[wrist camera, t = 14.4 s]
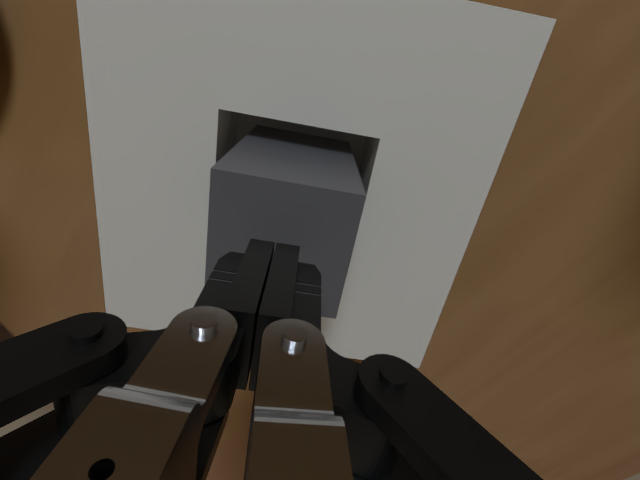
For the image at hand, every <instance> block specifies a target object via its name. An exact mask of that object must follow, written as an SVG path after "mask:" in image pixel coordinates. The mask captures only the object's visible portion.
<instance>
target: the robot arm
mask: <svg viewBox="0 0 640 480" xmlns="http://www.w3.org/2000/svg"><path fill="white" fill-rule="evenodd" d="M274 246H275V242H270V241H264V240H258V239H252V238H251V239H250V241H249V244H248V246H247V249H246V251H245V254H244V253H238V252H231V251H230V252H229V253H227V254H225V255H224V256H222V257H221V258H219V259H218V261H217V263H216V265H215V267H214V269H213V271H212V273H211V274H210V276H209V279H208V280H207V282H206V284H205V286H204V288H203V290H202V291H201V293H200V295H199V297H198V299H197V301H196V303H195V305H194V307H193V308H190V309H187V310H184V311H182V312H181V313H179V314H178V315H176V316H175V317H174V318H173V320H172V321H171V322H170V324H169V325H168V327H167V328H165V329H160V330H154V331H143V332H131V333H127V327H126V324H125V323H124V321H123V320H122V319H121V318H119V317H117V316H115V315H112V314H109V313H102V312H91V313H83V314H79V315H75V316H72V317H69V318H66V319H63V320H61V321H58V322H55V323H52V324H49V325H47V326H44V327H41V328H38V329H35V330H33V331H30V332H27V333H24V334H21V335H19V336H16V337H13V338H10V339H8V340H5V341H2V342H0V428H1V427H3V426H5V425H7V424H9V423H11V422H13V421H15V420H17V419H19V418H21V417H23V416H25V415H27V414H29V413H31V412H33V411H35V410H37V409H39V408H41V407H43V406H45V405H47V404H49V403H51V402H53V404H54V409H55V410H53V411H51V412H49V413H47V414H45V415H43V416H41V417H39V418H37V419H35V420H33V421H31V422H29V423H27V424H25V425H24V426H21V427H20V428H18V429H16V430H14V431H12V432H10V433H8V434H6V435H4V436H2V437H0V480H206V478H207V475H208V472H209V470H210V467H211V464H212V461H213V458H214V456H215V453H216V450H217V447H218V444H219V442H220V439H221V436H222V433H223V430H224V428H225V425H226V422H227V419H228V414H229V408H230V407H231V404H232V402H233V398H234V394H235V390H236V389H242V390H246V386H247V382H248V378H249V373H250V369H251V374H250V382H249V389H248V390H251V391H254V399H253V406H252V413H251V420H250V428H249V436H248V445H247V454H246V462H245V471H244V480H543V479H542V478H541V477H539V476H538V475H537V474H536V473H535V472H534V471H533V470H531V469H530V468H529V467H528V466H527V465H526V464H525V463H523V462H522V461H521V460H520V459H519V458H518V457H517V456H515V455H514V454H513V453H512V452H511V451H510V450H509V449H507V448H506V447H505V446H504V445H503V444H502V443H501V442H499V441H498V440H497V439H496V438H495V437H494V436H493V435H491V434H490V433H489V432H488V431H487V430H486V429H485V428H483V427H482V426H481V425H480V424H479V423H478V422H476V421H475V420H474V419H473V418H472V417H471V416H470V415H468V414H467V413H466V412H465V411H464V410H463V409H462V408H460V407H459V406H458V405H457V404H456V403H455V402H454V401H452V400H451V399H450V398H449V397H448V396H447V395H446V394H444V393H443V392H442V391H441V390H440V389H439V388H438V387H436V386H435V385H434V384H433V383H432V382H431V381H430V380H428V379H427V378H426V377H425V376H424V375H423V374H422V373H420V372H419V371H418V370H417V369H416V368H415V367H413V366H412V365H411V364H410V363H408V362H406V361H405V360H403V359H401V358H399V357H396V356H393V355H388V354H375V355H371V356H369V357H367V358H365V359H364V360H363V361H362V363H361V364H360V363H357V362H355V361H352V360H350V359H347V358H345V357H343V356H341V355H339V354H337V353H336V352H335V351H333V350H332V349H331V348H330V347H329V346H328V345H327V344H326V342H325V338H324V336H323V334H322V333H321V273H320V272H319V270H318V269H317V267H316V266H315V265H314V264H307V263H301V262H298V259H299V251H300V246H295V245H289V244H283V243H276V247H275V251H274ZM273 254H274V255H273ZM251 365H252V366H251Z"/></svg>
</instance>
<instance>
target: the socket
mask: <svg viewBox="0 0 640 480" xmlns="http://www.w3.org/2000/svg"><path fill="white" fill-rule="evenodd" d="M76 1H77V12H78V22H79V33H80V44H81V54H82V65H83V75H84V86H85V96H86V107H87V117H88V128H89V138H90V149H91V159H92V170H93V180H94V191H95V201H96V212H97V222H98V233H99V243H100V254H101V264H102V275H103V285H104V296H105V307H106V313H109V314H112V315H115V316H117V317H119V318H121V319H122V320H123V321H124V323H125V324H126V326H127V327H134V328H141V329H148V330H160V329H165V328H167V327H168V325H169V324H170V322H171V321H172V320H173V318H174V317H175V316H176V315H178V314H179V313H181V312H182V311H184V310H187V309H190V308H193V307H194V305H195V303H196V301H197V299H198V297H199V295H200V293H201V291H202V290H203V288H204V286H205V267H206V248H207V229H208V210H209V190H210V171H211V167H212V166H214V165H215V164H216V163H217V162H218V161H219V160H220V159H221V158H222V157H223V156H224V155H225V154H226V153H228V152H229V151H230V150H231V149H232V148H233V147H234V146H235V145H236V144H237V143H238V142H239V141H240V140H242V139H243V138H244V137H245V136H246V135H247V134H248V133H249V132H250V131H251V130H252V129H253V128H254V127H255V126H257V125H262V126H267V127H273V128H278V129H283V130H289V131H294V132H299V133H305V134H310V135H315V136H321V137H326V138H331V139H337V140H342V141H347V142H349V143H350V146H351V149H352V152H353V156H354V159H355V162H356V165H357V168H358V171H359V174H360V177H361V180H362V184H363V187H364V190H365V193H366V200H365V204H364V208H363V212H362V216H361V220H360V224H359V228H358V232H357V236H356V240H355V244H354V248H353V252H352V256H351V260H350V264H349V268H348V272H347V276H346V280H345V284H344V288H343V292H342V296H341V300H340V304H339V308H338V312H337V316H336V319H334V318H327V317H321V333H322V334H323V336H324V338H325V342H326V344H327V345H328V346H329V347H330V348H331V349H332V350H333V351H335V352H336V353H337V354H339V355H341V356H343V357H345V358H352V359H359V360H364V359H365V358H367V357H369V356H371V355H375V354H388V355H393V356H396V357H399V358H401V359H403V360H405V361H406V362H408V363H410V364H411V365H412V366H413V367H415V368H419V367H420V364H421V362H422V359H423V357H424V354H425V352H426V349H427V347H428V344H429V341H430V339H431V336H432V334H433V331H434V329H435V326H436V324H437V321H438V319H439V316H440V314H441V311H442V308H443V306H444V303H445V301H446V298H447V296H448V293H449V291H450V288H451V286H452V283H453V281H454V278H455V276H456V273H457V270H458V268H459V265H460V263H461V260H462V258H463V255H464V253H465V250H466V248H467V245H468V243H469V240H470V237H471V235H472V232H473V230H474V227H475V225H476V222H477V220H478V217H479V215H480V212H481V210H482V207H483V205H484V202H485V199H486V197H487V194H488V192H489V189H490V187H491V184H492V182H493V179H494V177H495V174H496V172H497V169H498V167H499V164H500V161H501V159H502V156H503V154H504V151H505V149H506V146H507V144H508V141H509V139H510V136H511V134H512V131H513V128H514V126H515V123H516V121H517V118H518V116H519V113H520V111H521V108H522V106H523V103H524V101H525V98H526V96H527V93H528V90H529V88H530V85H531V83H532V80H533V78H534V75H535V73H536V70H537V68H538V65H539V63H540V60H541V57H542V55H543V52H544V50H545V47H546V45H547V42H548V40H549V37H550V35H551V32H552V30H553V27H554V25H555V22H556V19H552V18H548V17H543V16H538V15H534V14H529V13H524V12H520V11H515V10H510V9H506V8H501V7H496V6H492V5H487V4H482V3H478V2H473V1H468V0H76Z"/></svg>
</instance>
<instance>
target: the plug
mask: <svg viewBox="0 0 640 480" xmlns="http://www.w3.org/2000/svg"><path fill="white" fill-rule="evenodd" d="M365 200H366V193H365V190H364V187H363V184H362V180H361V177H360V174H359V171H358V168H357V165H356V162H355V159H354V156H353V152H352V149H351V146H350V143H349V142H347V141H342V140H337V139H331V138H326V137H321V136H315V135H310V134H305V133H299V132H294V131H289V130H283V129H278V128H273V127H267V126H262V125H257V126H255V127H254V128H253V129H252V130H251V131H250V132H249V133H248V134H247V135H246V136H245V137H244V138H243V139H242V140H240V141H239V142H238V143H237V144H236V145H235V146H234V147H233V148H232V149H231V150H230V151H229V152H228V153H226V154H225V155H224V156H223V157H222V158H221V159H220V160H219V161H218V162H217V163H216V164H215V165H214V166H212V167H211V171H210V190H209V210H208V229H207V248H206V267H205V284H206V282H207V280H208V279H209V276H210V274H211V273H212V271H213V269H214V267H215V265H216V263H217V261H218V259H219V258H221V257H222V256H224V255H225V254H227V253H229V252H230V251H231V252H238V253H244V254H245V251H246V249H247V246H248V244H249V241H250V239H251V238H252V239H258V240H264V241H270V242H275V246H274V251H275V247H276V243H283V244H289V245H295V246H300V251H299V259H298V262H301V263H307V264H314V265H315V266H316V267H317V269H318V270H319V272H320V273H321V317H327V318H334V319H336V316H337V312H338V308H339V304H340V300H341V296H342V292H343V288H344V284H345V280H346V276H347V272H348V268H349V264H350V260H351V256H352V252H353V248H354V244H355V240H356V236H357V232H358V228H359V224H360V220H361V216H362V212H363V208H364V204H365ZM273 255H274V254H273Z"/></svg>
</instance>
